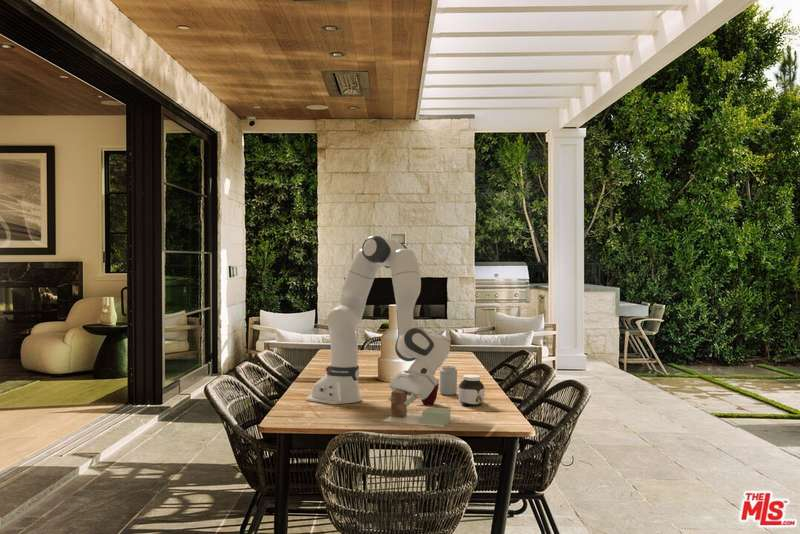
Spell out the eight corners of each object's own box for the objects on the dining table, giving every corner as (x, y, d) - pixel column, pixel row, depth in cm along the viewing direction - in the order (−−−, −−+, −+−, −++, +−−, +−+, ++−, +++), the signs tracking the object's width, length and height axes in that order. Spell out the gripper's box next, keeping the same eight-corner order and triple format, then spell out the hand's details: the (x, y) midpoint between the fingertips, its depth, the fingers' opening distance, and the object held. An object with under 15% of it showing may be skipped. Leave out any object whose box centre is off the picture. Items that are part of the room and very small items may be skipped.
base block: (422, 423, 238) (422, 411, 237) (428, 418, 245) (428, 407, 245) (444, 425, 235) (444, 413, 235) (450, 420, 242) (450, 409, 242)
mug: (412, 406, 271) (412, 380, 271) (412, 401, 279) (412, 377, 279) (438, 406, 271) (439, 381, 271) (437, 402, 279) (438, 377, 279)
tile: (382, 423, 240) (382, 420, 240) (396, 414, 254) (396, 412, 254) (442, 429, 233) (442, 426, 233) (453, 420, 247) (453, 417, 247)
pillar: (391, 417, 246) (391, 392, 246) (395, 414, 251) (395, 390, 250) (402, 418, 245) (402, 393, 245) (406, 415, 249) (406, 390, 249)
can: (455, 396, 292) (456, 368, 292) (438, 395, 294) (438, 367, 293) (457, 393, 299) (458, 365, 299) (440, 392, 301) (441, 364, 301)
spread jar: (464, 407, 269) (465, 378, 269) (451, 402, 280) (451, 373, 279) (491, 405, 274) (491, 376, 274) (477, 400, 284) (477, 372, 284)
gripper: (399, 364, 260) (377, 392, 255) (431, 371, 243) (409, 402, 238) (408, 375, 263) (387, 403, 257) (441, 383, 246) (419, 413, 240)
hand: (397, 402), depth 247 cm, fingers open, 8 cm apart
